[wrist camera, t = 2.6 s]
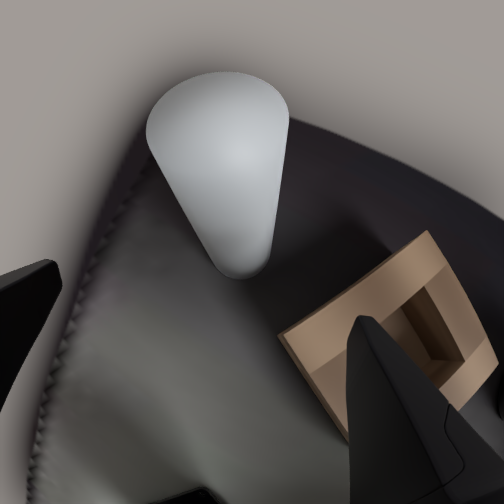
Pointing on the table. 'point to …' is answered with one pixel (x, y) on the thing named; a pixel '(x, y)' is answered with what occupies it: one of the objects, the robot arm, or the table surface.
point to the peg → (224, 163)
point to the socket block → (397, 328)
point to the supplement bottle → (501, 399)
